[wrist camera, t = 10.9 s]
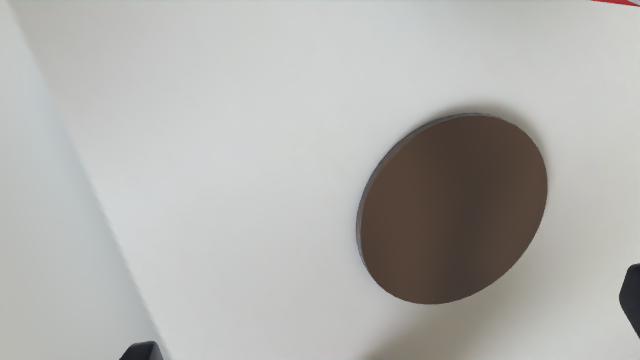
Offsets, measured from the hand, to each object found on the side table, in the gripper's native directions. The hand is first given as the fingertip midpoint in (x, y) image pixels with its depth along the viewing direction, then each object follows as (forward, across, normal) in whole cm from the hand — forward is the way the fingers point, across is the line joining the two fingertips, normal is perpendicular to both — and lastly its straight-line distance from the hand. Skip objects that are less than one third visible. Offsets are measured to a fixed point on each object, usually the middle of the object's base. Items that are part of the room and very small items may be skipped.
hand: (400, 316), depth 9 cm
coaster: (+12, -6, +7) cm, 15 cm away
